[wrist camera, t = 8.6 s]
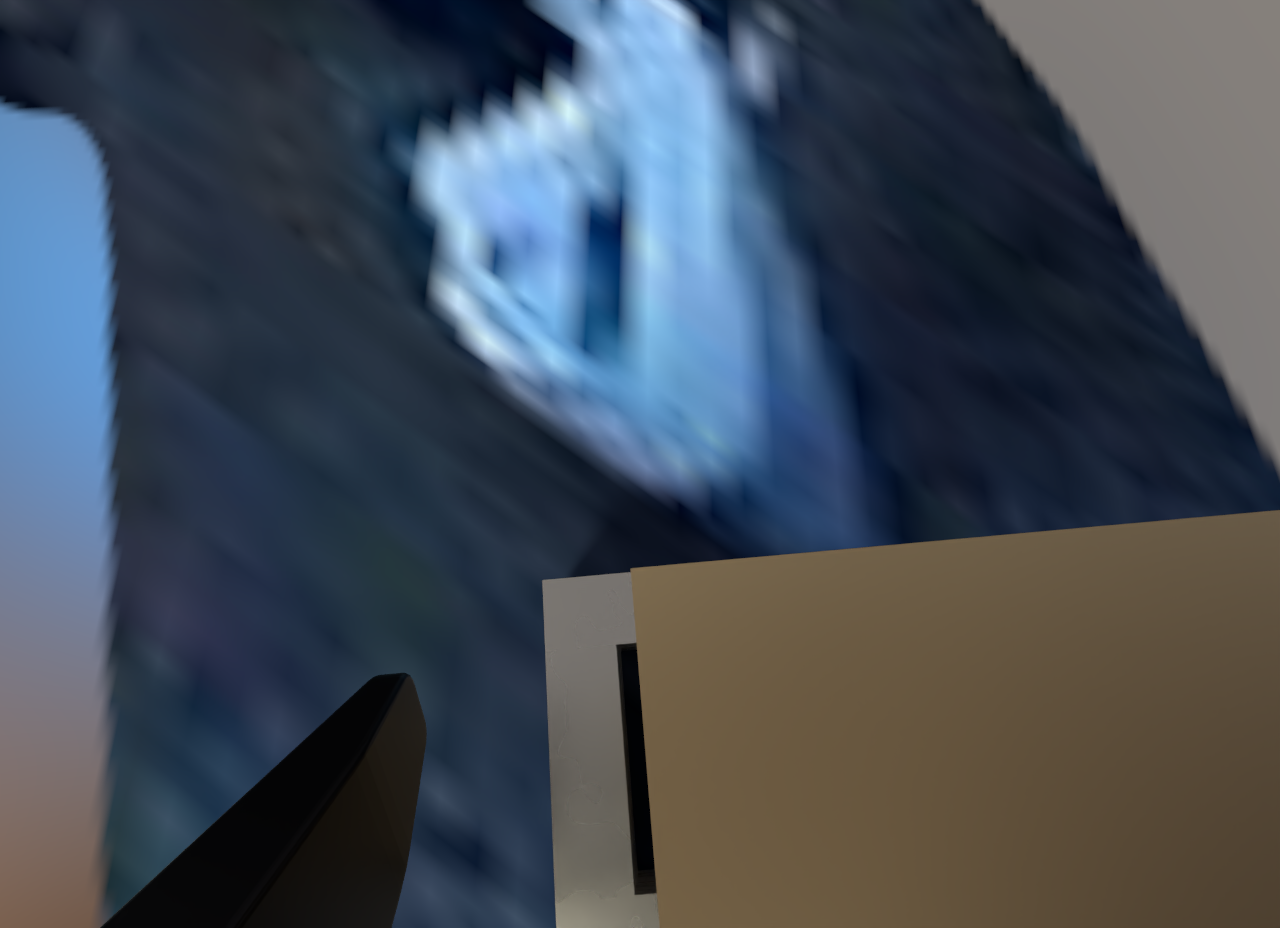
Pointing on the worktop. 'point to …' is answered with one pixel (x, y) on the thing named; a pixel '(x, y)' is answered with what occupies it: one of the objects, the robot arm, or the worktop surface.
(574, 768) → the socket plate
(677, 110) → the worktop surface
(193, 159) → the worktop surface
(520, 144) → the worktop surface
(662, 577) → the pin
